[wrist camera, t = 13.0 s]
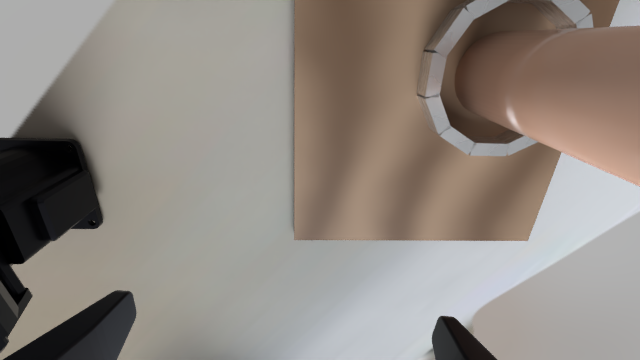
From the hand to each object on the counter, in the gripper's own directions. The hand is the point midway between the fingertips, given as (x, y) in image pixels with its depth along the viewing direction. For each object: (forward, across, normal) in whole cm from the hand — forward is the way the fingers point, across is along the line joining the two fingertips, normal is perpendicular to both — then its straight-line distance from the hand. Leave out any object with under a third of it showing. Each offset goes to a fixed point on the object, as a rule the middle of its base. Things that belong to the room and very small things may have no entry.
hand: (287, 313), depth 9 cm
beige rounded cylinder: (+13, -11, -6) cm, 18 cm away
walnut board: (+14, -8, -3) cm, 16 cm away
